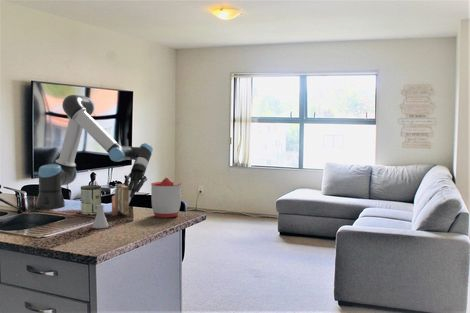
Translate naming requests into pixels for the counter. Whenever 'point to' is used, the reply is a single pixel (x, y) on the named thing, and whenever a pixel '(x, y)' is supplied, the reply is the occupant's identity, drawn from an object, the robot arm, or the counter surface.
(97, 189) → the coffee can
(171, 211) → the citrus juicer
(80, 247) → the counter surface
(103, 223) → the flask
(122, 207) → the brown beige flat square
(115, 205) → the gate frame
